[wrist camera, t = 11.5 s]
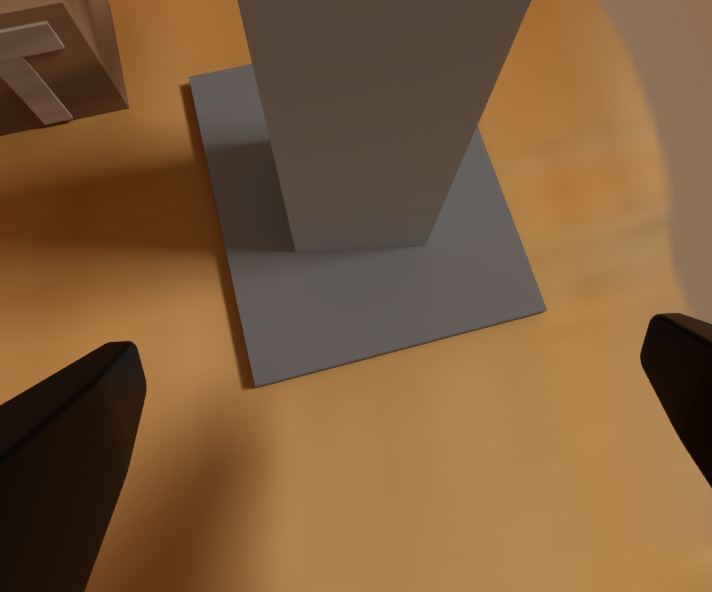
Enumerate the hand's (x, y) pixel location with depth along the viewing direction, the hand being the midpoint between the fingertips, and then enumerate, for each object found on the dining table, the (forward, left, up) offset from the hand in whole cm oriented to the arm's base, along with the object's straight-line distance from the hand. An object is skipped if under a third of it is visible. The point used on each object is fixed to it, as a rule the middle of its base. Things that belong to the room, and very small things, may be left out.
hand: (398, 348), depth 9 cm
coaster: (+7, -1, -8) cm, 11 cm away
